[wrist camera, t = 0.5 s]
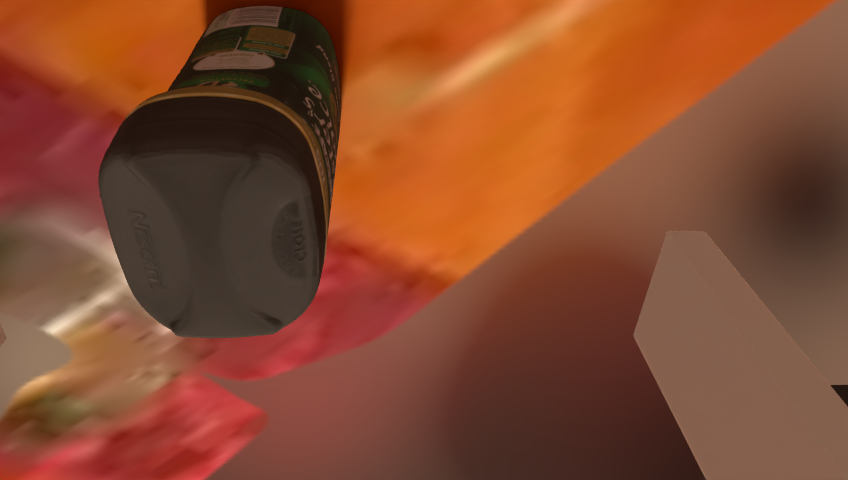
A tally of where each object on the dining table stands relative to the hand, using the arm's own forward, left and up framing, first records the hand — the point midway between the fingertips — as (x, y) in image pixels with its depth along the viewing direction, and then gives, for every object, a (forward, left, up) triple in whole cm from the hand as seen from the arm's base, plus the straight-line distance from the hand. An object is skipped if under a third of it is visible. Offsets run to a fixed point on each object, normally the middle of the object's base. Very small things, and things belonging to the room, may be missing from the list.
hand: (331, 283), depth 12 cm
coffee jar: (-1, -7, -27) cm, 28 cm away
